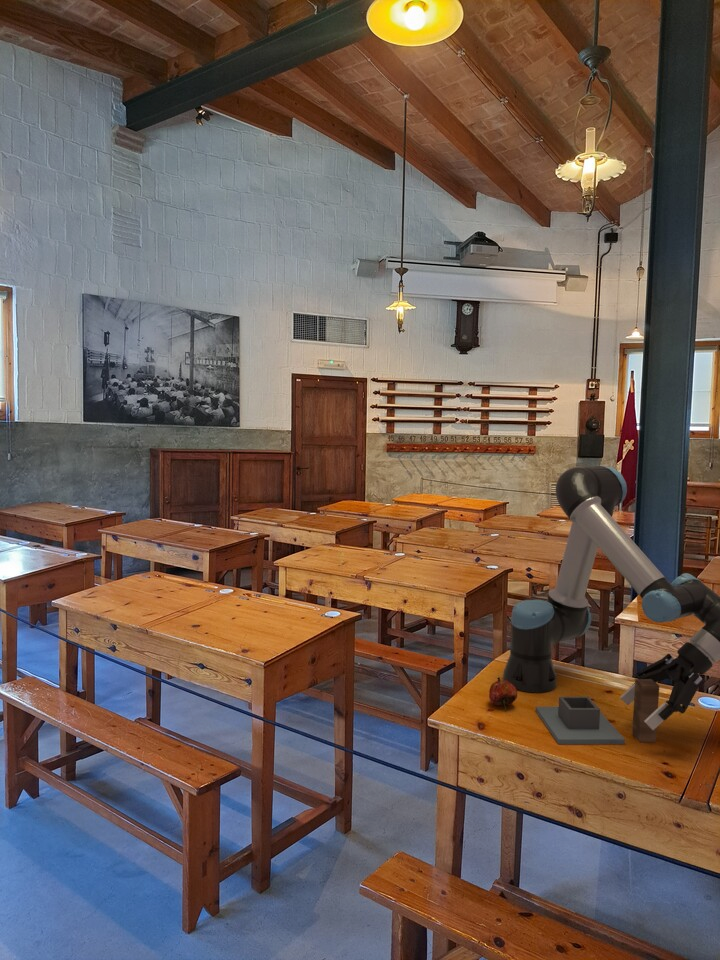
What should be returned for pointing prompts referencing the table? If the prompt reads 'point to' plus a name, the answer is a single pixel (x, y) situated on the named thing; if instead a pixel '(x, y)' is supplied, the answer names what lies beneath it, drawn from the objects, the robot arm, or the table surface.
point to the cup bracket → (578, 722)
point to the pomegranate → (502, 693)
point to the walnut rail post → (644, 709)
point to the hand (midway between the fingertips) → (635, 713)
